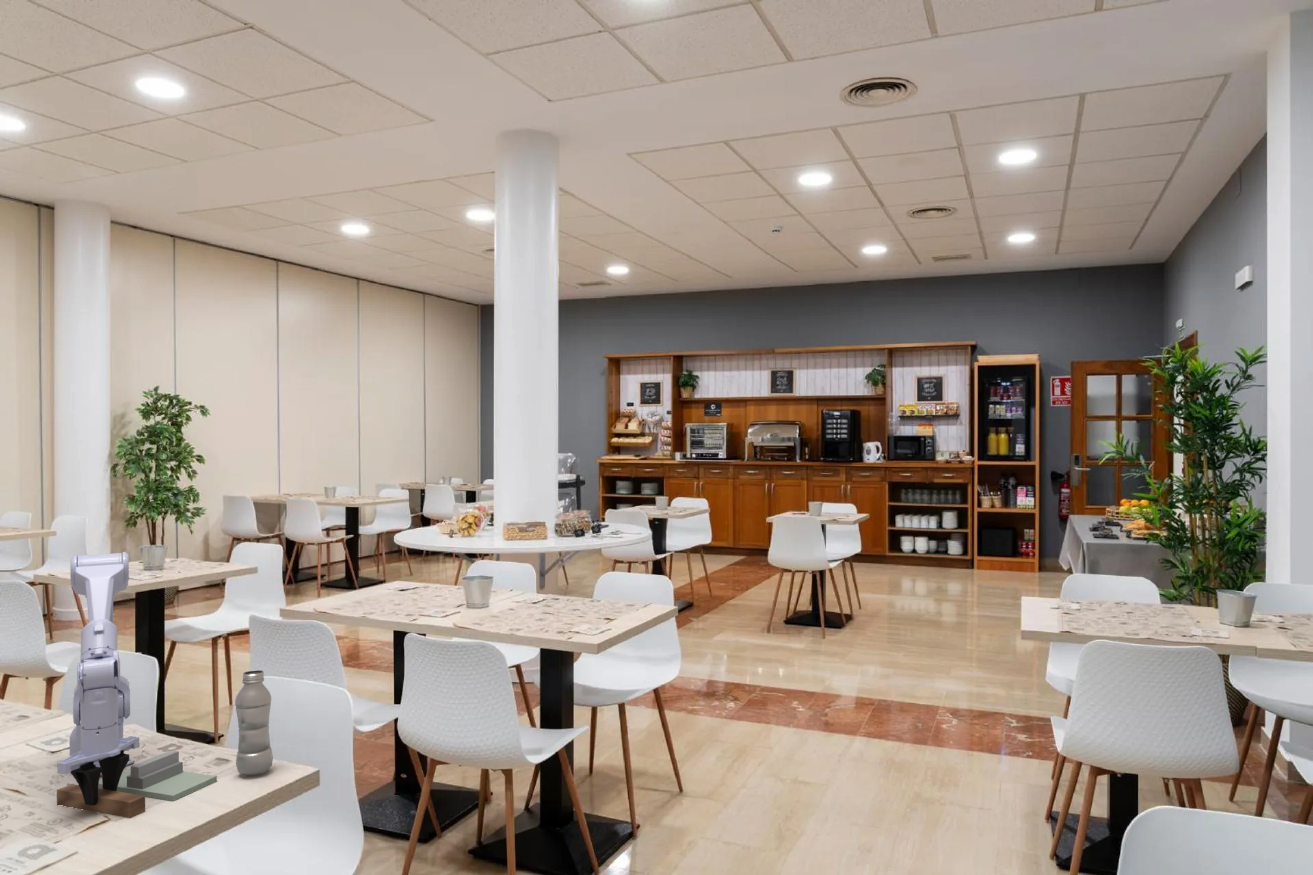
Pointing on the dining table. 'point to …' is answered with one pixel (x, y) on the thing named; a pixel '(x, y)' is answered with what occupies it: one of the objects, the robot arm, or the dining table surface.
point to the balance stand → (161, 778)
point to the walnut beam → (103, 801)
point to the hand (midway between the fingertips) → (100, 800)
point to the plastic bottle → (253, 725)
